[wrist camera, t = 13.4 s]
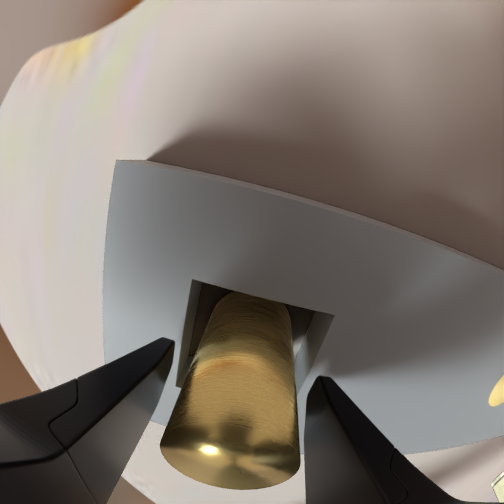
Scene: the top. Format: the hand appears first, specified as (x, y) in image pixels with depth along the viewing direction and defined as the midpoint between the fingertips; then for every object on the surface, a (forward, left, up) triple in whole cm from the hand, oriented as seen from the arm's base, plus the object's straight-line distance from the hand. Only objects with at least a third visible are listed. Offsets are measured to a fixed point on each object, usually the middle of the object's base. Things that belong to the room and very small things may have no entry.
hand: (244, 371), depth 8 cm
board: (0, -11, -3) cm, 11 cm away
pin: (0, 0, -3) cm, 3 cm away
